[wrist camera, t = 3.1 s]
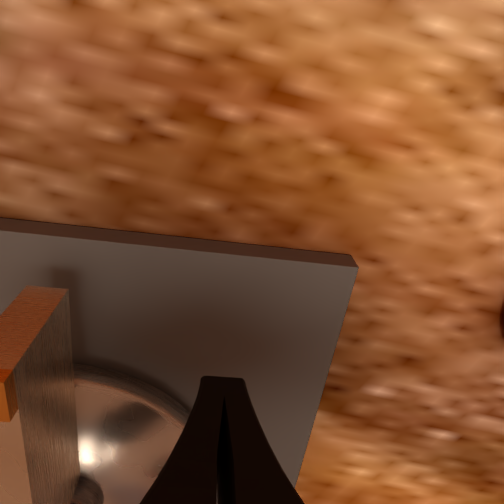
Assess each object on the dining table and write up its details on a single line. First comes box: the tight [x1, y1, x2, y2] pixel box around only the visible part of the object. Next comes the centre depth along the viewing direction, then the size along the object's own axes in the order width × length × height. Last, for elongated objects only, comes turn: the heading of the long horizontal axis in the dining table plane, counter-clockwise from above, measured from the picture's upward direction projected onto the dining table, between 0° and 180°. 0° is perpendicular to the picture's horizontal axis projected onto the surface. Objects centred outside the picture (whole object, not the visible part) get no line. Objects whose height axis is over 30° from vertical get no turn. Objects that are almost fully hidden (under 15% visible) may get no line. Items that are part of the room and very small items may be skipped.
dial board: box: [0, 218, 359, 489], centre depth 17 cm, size 19×21×1 cm
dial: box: [0, 285, 190, 504], centre depth 14 cm, size 16×12×5 cm
